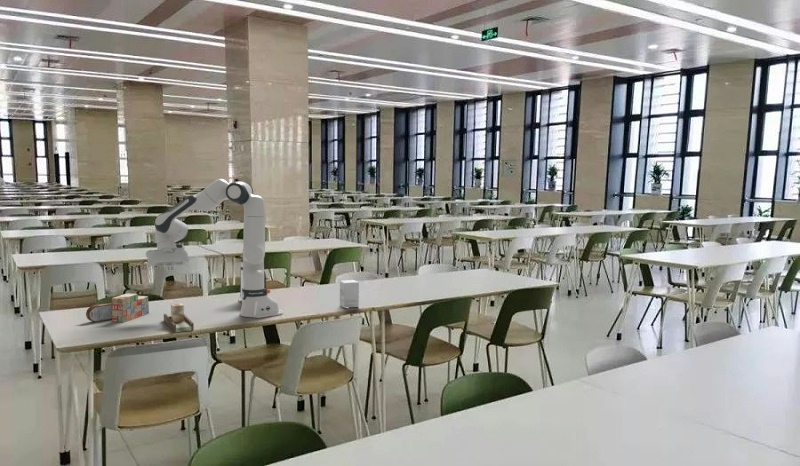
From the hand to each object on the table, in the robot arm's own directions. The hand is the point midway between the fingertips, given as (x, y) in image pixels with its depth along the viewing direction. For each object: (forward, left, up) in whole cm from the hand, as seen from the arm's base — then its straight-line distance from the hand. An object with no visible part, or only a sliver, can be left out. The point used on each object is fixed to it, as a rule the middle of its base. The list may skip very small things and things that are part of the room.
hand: (170, 270), depth 308 cm
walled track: (0, +19, -24) cm, 31 cm away
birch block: (0, +17, -22) cm, 28 cm away
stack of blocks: (+18, -9, -25) cm, 32 cm away
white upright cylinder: (-50, -21, -25) cm, 59 cm away
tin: (+31, -8, -25) cm, 40 cm away
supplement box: (-95, +15, -25) cm, 99 cm away
